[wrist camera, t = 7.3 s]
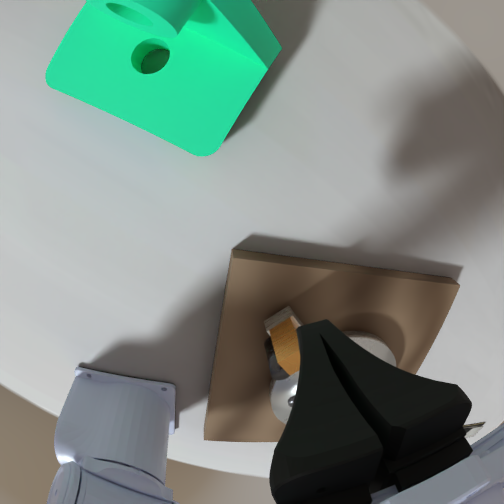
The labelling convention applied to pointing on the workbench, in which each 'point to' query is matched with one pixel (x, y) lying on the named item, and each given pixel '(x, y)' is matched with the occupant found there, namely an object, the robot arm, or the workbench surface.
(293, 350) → the flange plate
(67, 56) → the camera mount
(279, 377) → the dowel pin
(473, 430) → the computer memory module
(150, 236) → the workbench surface
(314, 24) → the workbench surface
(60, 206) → the workbench surface
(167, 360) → the workbench surface
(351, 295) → the fixture board
